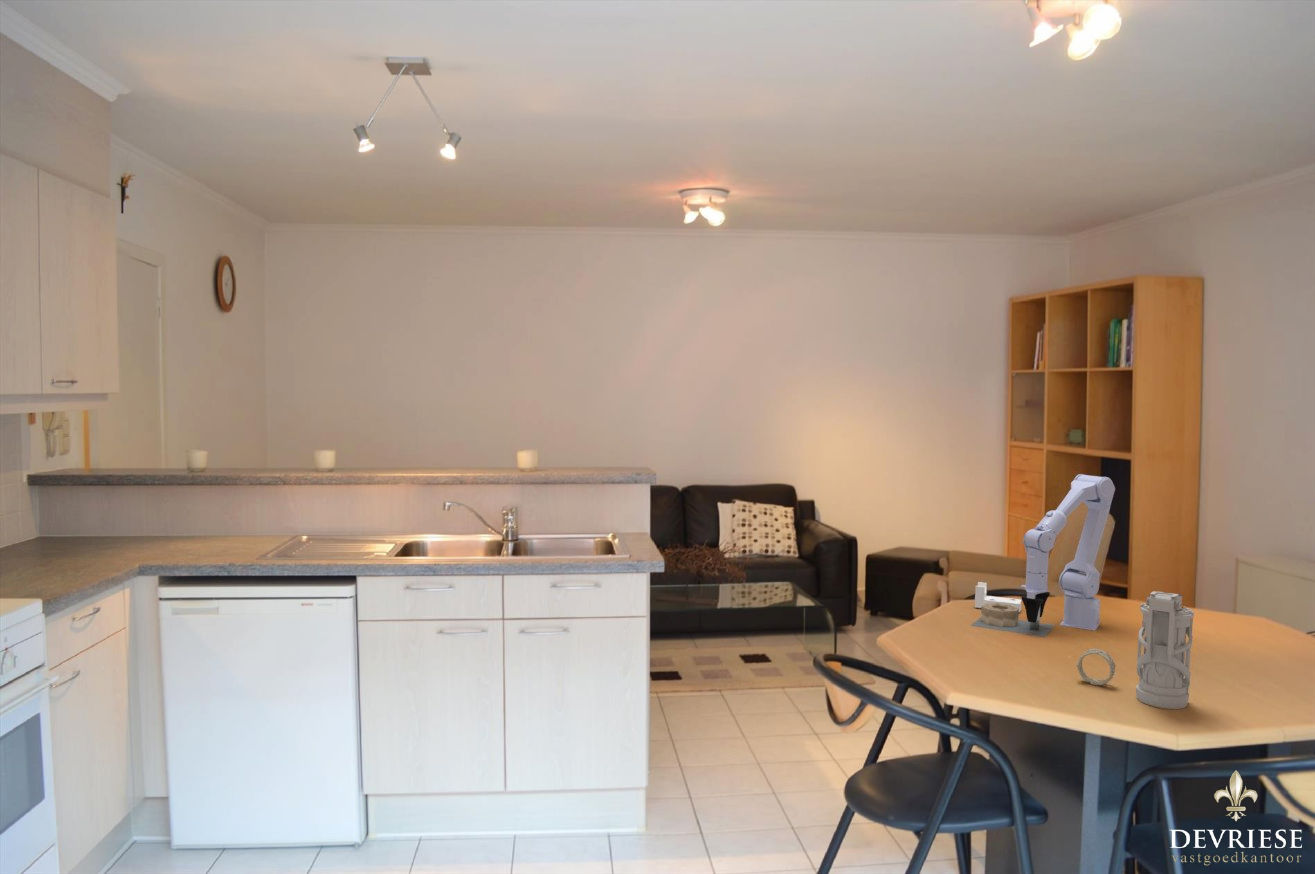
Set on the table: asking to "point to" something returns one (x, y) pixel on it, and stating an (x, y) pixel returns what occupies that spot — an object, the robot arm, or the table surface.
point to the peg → (1035, 625)
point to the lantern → (1164, 651)
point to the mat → (1018, 628)
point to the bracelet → (1105, 656)
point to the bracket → (992, 598)
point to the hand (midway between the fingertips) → (1034, 619)
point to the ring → (999, 615)
